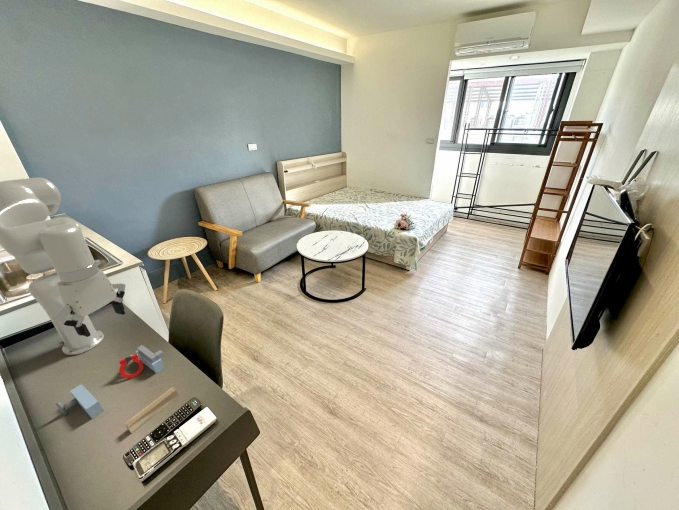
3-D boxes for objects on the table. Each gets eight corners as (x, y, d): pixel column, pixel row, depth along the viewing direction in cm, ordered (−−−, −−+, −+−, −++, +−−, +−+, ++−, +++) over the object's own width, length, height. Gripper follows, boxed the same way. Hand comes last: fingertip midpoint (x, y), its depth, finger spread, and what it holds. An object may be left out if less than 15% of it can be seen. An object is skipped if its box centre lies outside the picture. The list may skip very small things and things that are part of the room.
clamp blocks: (59, 410, 85) (50, 397, 82) (151, 352, 106) (146, 340, 103) (75, 430, 79) (66, 417, 76) (169, 365, 100) (164, 352, 98)
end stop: (128, 429, 79) (124, 423, 78) (174, 392, 90) (172, 386, 89) (131, 433, 79) (128, 427, 77) (178, 395, 89) (176, 389, 88)
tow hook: (122, 382, 93) (116, 361, 93) (126, 376, 102) (120, 357, 102) (145, 372, 97) (139, 352, 97) (147, 367, 105) (141, 349, 106)
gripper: (103, 255, 79) (123, 303, 86) (26, 287, 64) (59, 342, 71) (122, 259, 77) (141, 308, 84) (48, 292, 62) (79, 348, 69)
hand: (104, 323), depth 78 cm, fingers open, 9 cm apart
